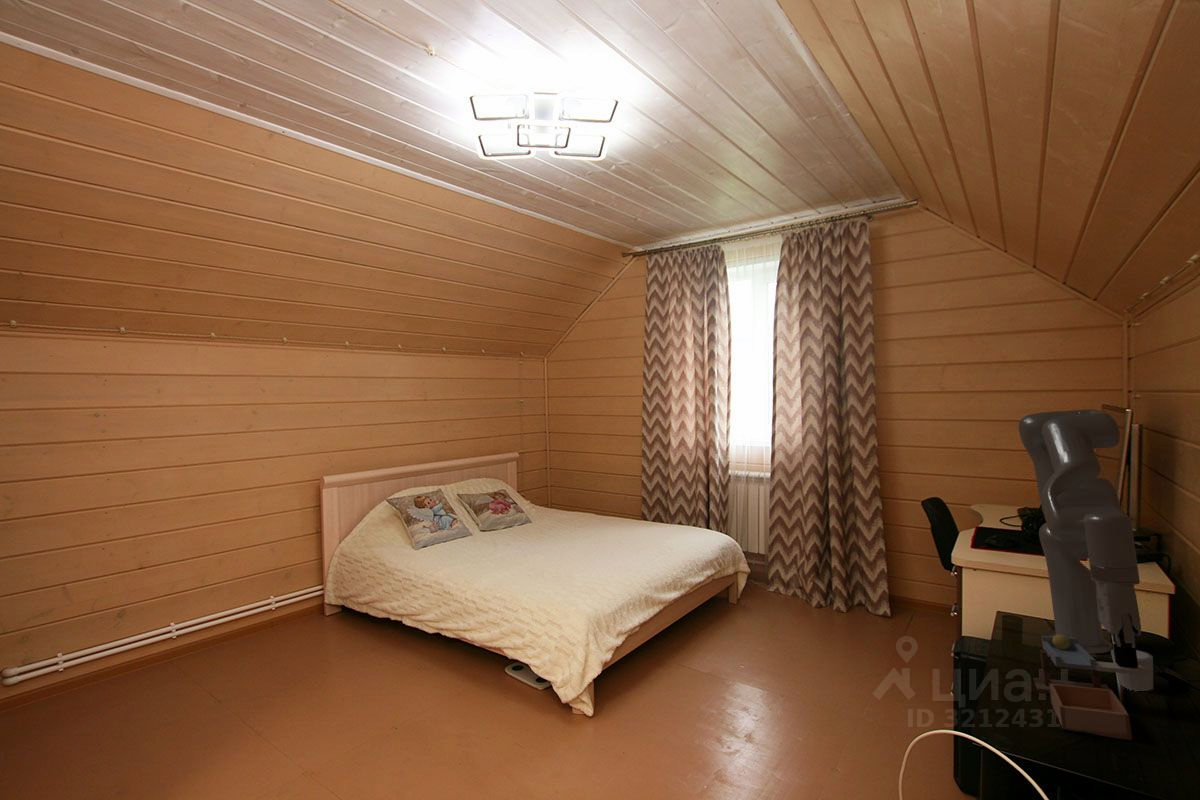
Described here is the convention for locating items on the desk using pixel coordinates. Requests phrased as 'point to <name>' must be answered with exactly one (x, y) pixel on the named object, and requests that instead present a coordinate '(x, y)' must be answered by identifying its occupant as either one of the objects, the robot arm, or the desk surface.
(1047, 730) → the desk surface
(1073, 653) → the grey piece
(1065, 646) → the ball
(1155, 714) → the desk surface
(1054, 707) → the pink open box
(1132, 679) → the light grey cylinder
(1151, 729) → the desk surface
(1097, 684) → the stand
